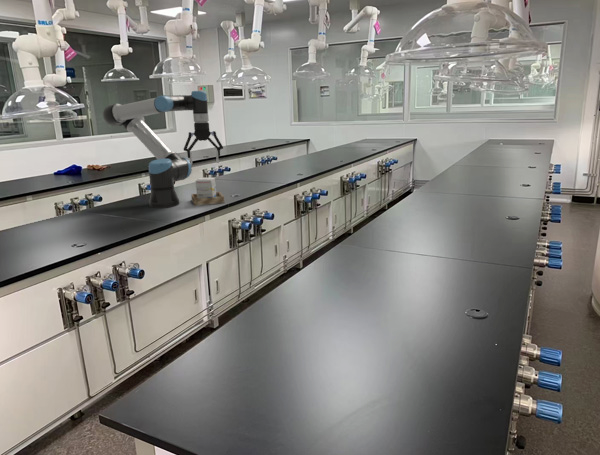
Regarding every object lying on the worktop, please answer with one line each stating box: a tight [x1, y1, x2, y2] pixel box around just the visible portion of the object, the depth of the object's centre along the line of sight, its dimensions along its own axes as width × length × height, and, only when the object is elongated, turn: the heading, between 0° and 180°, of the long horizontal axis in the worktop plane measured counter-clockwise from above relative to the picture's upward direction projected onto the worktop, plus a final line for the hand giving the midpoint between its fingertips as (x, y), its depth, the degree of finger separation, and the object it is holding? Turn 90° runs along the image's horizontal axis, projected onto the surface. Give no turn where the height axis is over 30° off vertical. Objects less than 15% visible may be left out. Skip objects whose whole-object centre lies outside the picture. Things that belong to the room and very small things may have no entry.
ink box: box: [195, 177, 217, 199], centre depth 239 cm, size 9×8×12 cm
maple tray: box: [191, 191, 225, 206], centre depth 241 cm, size 16×14×3 cm
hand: (204, 163), depth 236 cm, fingers open, 13 cm apart
